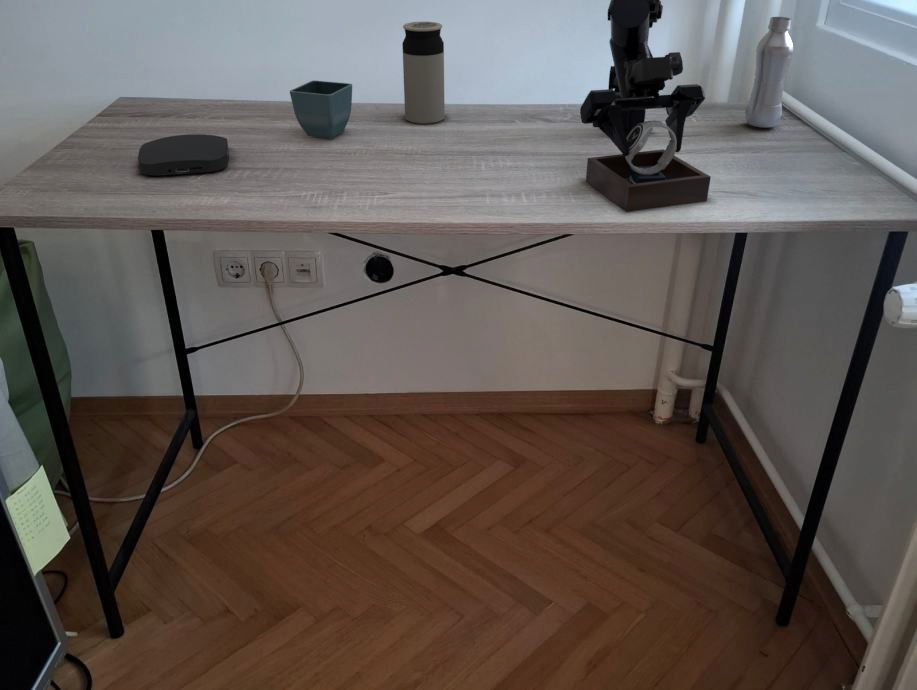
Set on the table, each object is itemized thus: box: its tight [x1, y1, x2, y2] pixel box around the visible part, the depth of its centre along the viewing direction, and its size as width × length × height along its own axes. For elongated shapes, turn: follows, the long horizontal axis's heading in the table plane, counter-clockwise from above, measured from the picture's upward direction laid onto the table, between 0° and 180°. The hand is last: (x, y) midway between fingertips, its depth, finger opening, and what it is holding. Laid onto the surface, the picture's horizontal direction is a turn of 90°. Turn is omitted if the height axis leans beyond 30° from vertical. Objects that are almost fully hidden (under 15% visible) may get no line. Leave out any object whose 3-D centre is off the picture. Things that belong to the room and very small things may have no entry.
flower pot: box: [289, 80, 353, 140], centre depth 156 cm, size 9×9×9 cm
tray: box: [585, 149, 712, 213], centre depth 132 cm, size 14×14×4 cm
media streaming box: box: [137, 133, 230, 176], centre depth 144 cm, size 15×15×3 cm
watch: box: [625, 120, 677, 184], centre depth 130 cm, size 6×8×11 cm
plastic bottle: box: [745, 16, 794, 129], centre depth 157 cm, size 6×7×20 cm
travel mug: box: [402, 21, 446, 125], centre depth 163 cm, size 8×8×18 cm
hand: (652, 153), depth 128 cm, fingers closed on watch, 8 cm apart
